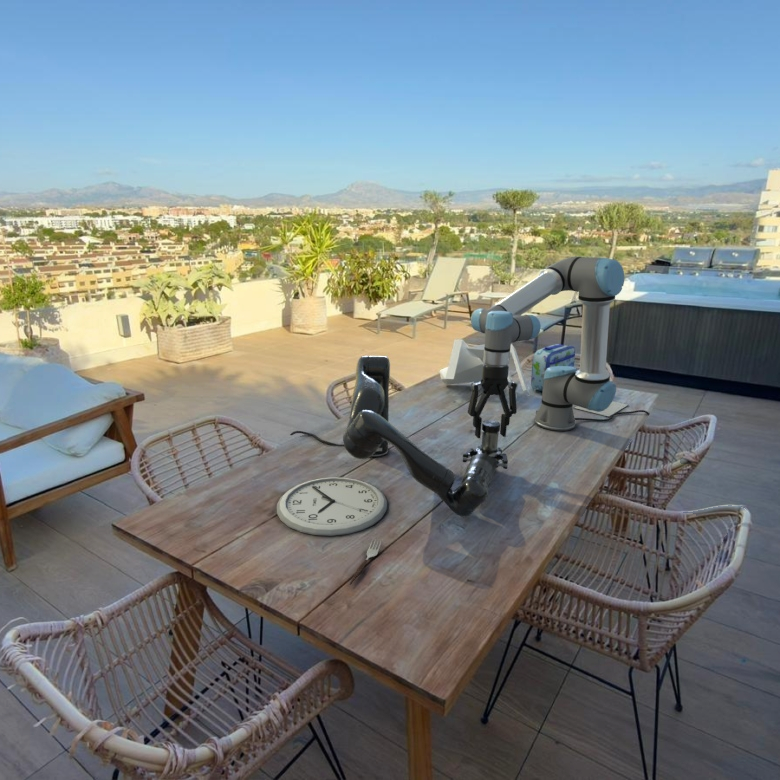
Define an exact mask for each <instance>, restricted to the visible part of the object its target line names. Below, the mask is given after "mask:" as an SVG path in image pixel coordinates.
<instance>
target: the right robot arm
mask: <svg viewBox="0 0 780 780" xmlns="http://www.w3.org/2000/svg"><path fill="white" fill-rule="evenodd" d="M624 284H625V271H624V268H623V266H622V264H621V263H620V262H619V261H618V260H616V259H615V258H608V257H607V258H606V257H597V256H595V257H593V256H571V257H567V258H563V259H561V260H559V261H557V262H555V263H553V264H550V265H549V266H547V267H546V268H544V269H543V270H541V271H540V272H539V274H538V276H537V277H535V278H534V279H532V280H531V281H529V282H528V283H527V284H525V285H522V287H519V289H517V290H515V291H514V292H513V293H511V294H509V295H508V296H507V297H505V298H503V299H502V300H500V301H499V302H497V303H496V304H494V305H492V306H491V307H489V308H477V309H475V310H474V311H473V313H472V314H471V317H470V324H471V327H472V329H473V330H474V331H475V332H478V333H481V334H484V344H485V347H484V359H483V362H484V363H485V364H484V365H483V372H482V380H481V381H480V382H477V383H474V382H471V393H470V398H469V403H468V407H467V414H468V415H469V416H470V417H473V418H472V426H473V427H474V428H475V429H474V436H475V437H476V438H477V439H481V437H482V436H481V435H482V422H483V421H482V420H483V418H482V417H481V414H482V412H483V410H484V408H485V405H486V404H487V402H488V400H489V399H490V397H491V396H494V395H496V396H498V398H499V401H500V404H501V407H502V410H503V413H501V416H500V417H501V418H500V431H499V434H500V435H501V436H502V437H503V438H505V437H507V426H510V421H511V418H512V417H513V415H517V412H518V410H517V409H518V408H517V398H516V395H517V392H516V391H517V387H518V383H516V382H515V381H513V380H512V381H511V382H509V381H508V379H507V378H508V370H509V371H510V366H509V364H510V360H509V359H510V347H511V344H513V343H517V342H518V343H519V342H524V341H526V342H527V341H529V340H533V339H536V338H537V337H538V336H539V334H540V333H541V322H540V320H539V318H538V317H537V316H536V315H533V314H525V313H526V312H527V311H529V310H531V309H532V308H534V307H535V306H536V305H538V304H539V303H542V302H543V301H544V300H546V299H547V298H548V297H550V296H551V295H552V296H554V295H558V294H559V293H561V292H565V291H566V292H567V291H570V292H578V301H579V302H580V303H581V304H582V313H581V314H582V315H581V336H580V338H581V339H580V356H579V357H580V358H579V359H580V360H579V369H578V368H577V367H576V366H574V367H571V366H555V367H549V368H547V369H546V371H545V375H544V378H543V379H544V382H543V391H541V392H542V394H541V402H540V405H539V407H538V410H537V409H536V410H535V417H534V424H535V425H536V426H537V427H539V428H542V429H544V430H549V431H556V432H567V431H572V430H574V429H575V428H576V421H592V422H609V421H611V420H613V417H614V416H618V415H623V414H624V415H626V414H637V413H645V414H647V415H650V413H649V412H648V411H646V410H644V409H638V410H632V411H621V412H620V411H618V412H616V413H614V414H612V415H611V416H609V417H608V418H605V419H603V418H602V419H601V418H587V417H586V418H584V417H576V416H575V413H574V407H573V406H575V407H576V406H579V407H583V408H586V409H588V410H593V411H597V412H601V411H604V410H605V409H607V408H608V407H609V405H610V404H611V403H612V401H614V398H615V396H616V392H617V386H616V384H615V383H614V382H613V381H610V378H611V374H610V372H609V371H608V370H607V357H608V356H607V353H608V340H609V338H608V337H609V327H610V326H609V324H610V309H611V303H612V302H614V301H615V300H616V296H617V295H619V294H620V293H621V292H622V290H623V287H624ZM481 388H482V392H481V395H480V397H479V393H480V392H479V391H480V390H481ZM506 388H508V401H507V397H506V392H505V390H506ZM508 402H509V403H508Z"/></svg>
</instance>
